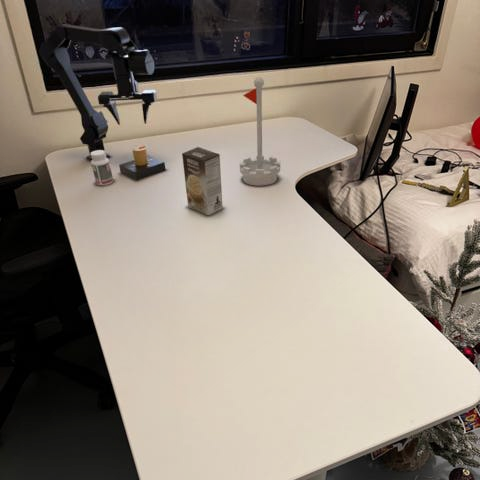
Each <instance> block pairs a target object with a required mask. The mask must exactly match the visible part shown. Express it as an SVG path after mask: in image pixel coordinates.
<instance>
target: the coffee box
mask: <svg viewBox="0 0 480 480" xmlns="http://www.w3.org/2000/svg"><path fill="white" fill-rule="evenodd" d="M181 156H182V166H183V174H184V182H185V184H184V185H185V191H186V192H185V193H186V201H187V207H188V208H189V209H192V210H194V211H195V212H199V213H201V214H204V215H206V216H210V215H213V214H214V213H217V212H218V211H220V210H223V207H224V206H223V191H222V190H223V189H222V174H221V173H222V172H221V154H220V153H217V152H214V151H211V150H208V149H205V148H202V147H200V146H196V147H194V148H192V149H189V150H187V151H184V152H182V153H181Z"/></svg>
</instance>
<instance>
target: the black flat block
mask: <svg viewBox="0 0 480 480" xmlns="http://www.w3.org/2000/svg"><path fill="white" fill-rule="evenodd" d="M147 159H148V164H146V165H141V166H139V165H136V164H135V160H134V159H133V160H130V161H127V162H124V163H120V164H119V165H118V168H119V173H120V175H122V176H126V177H127V178H130V179H132V180H133V181H140V180H143V179H146V178H149V177H152V176H154V175H157V174H161V173H163V172H166V163H165V161H163V160H160V159H158V158H155V157H153V156H151V155H147Z"/></svg>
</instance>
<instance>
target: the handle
mask: <svg viewBox="0 0 480 480" xmlns="http://www.w3.org/2000/svg"><path fill="white" fill-rule="evenodd" d="M132 154H133V160H135V164H136V165H139V166H141V165H146V164H148V159H147V156H148V152H147V147H146V146H145V145H142V146H141V145H138V146H135V147H132Z"/></svg>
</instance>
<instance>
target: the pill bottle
mask: <svg viewBox="0 0 480 480" xmlns="http://www.w3.org/2000/svg"><path fill="white" fill-rule="evenodd" d="M106 154H107V153H106V150H105V151H104V150H96V151H93V152H91V158H92V160H90V164H91V168H92V172H93V176H94V180H95V184H96V185H97V186H108V185H111V184H112V183H113V182H114V176H113V172H112V168H111V167H112V166H111V165H110V160H109V157H108V158H106Z"/></svg>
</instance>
